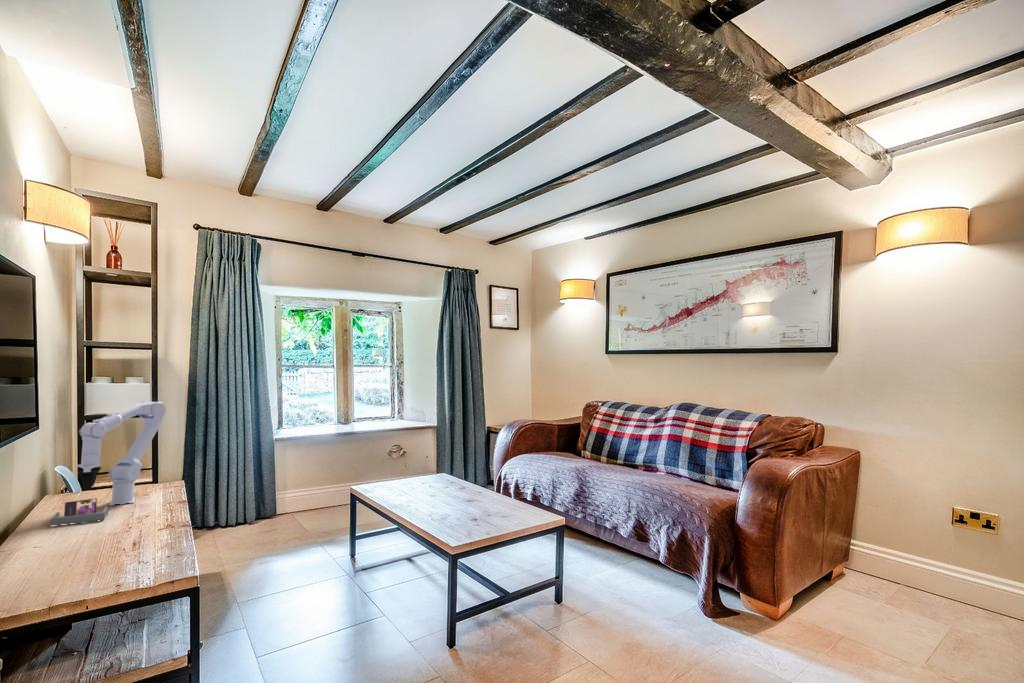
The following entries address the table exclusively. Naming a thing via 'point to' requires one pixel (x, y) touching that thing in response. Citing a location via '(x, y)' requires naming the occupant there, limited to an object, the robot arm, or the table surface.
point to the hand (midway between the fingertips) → (88, 487)
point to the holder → (78, 518)
